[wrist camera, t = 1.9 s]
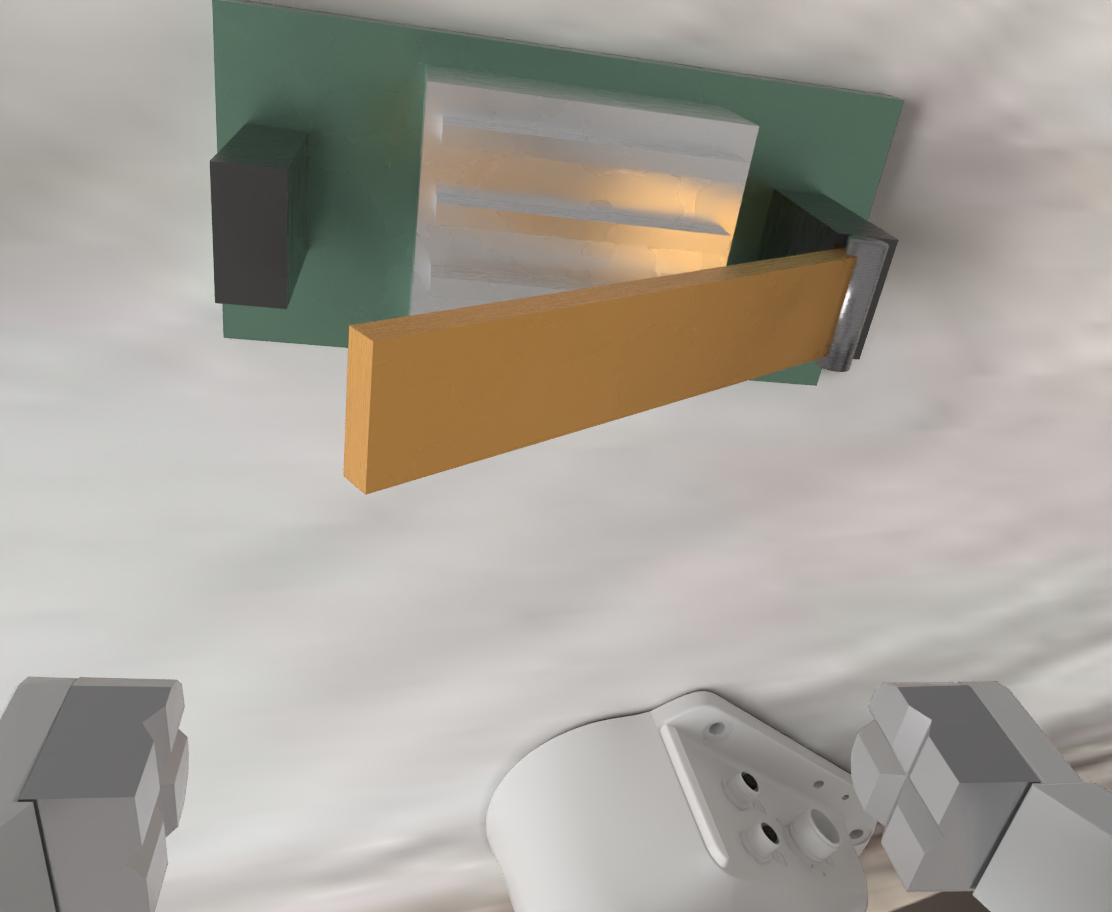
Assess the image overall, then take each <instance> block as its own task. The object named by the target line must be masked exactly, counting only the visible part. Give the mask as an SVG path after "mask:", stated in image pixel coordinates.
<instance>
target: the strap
mask: <svg viewBox="0 0 1112 912" xmlns="http://www.w3.org/2000/svg"><path fill="white" fill-rule="evenodd" d="M888 248H889V245H888V244H887V243H885V242H883V241H881V240H878V239H875V238H871V237H866V236H858V235H851V236H849V237H848V240H847V244H846V247H844V248H838V249H831V250H825V251H819V252H812V253H806V254H800V255H793V256H787V257H781V258H774V259H768V260H762V261H755V262H749V263H742V264H736V265H730V266H723V267H717V268H711V269H704V270H698V271H692V272H685V273H679V274H673V275H666V276H660V277H654V278H647V279H641V280H634V281H628V282H622V283H615V284H609V285H603V286H596V287H590V288H584V289H577V290H571V291H565V292H558V293H552V294H546V295H539V296H533V297H526V298H520V299H514V300H507V301H501V302H495V303H488V304H482V305H476V306H469V307H463V308H457V309H450V310H444V311H438V312H431V313H425V314H418V315H412V316H406V317H399V318H393V319H387V320H380V321H374V322H368V323H361V324H355V325H349V343H348V371H347V398H346V426H345V453H344V477H345V478H347V479H348V480H349V481H350V482H351V483H352V484H354V485H355V486H356V487H357V488H358V489H360V490H361V491H362V492H363V493H364V494H365V495H366V494H369V493H372V492H376V491H379V490H382V489H386V488H389V487H392V486H396V485H399V484H402V483H406V482H409V481H412V480H416V479H419V478H422V477H426V476H429V475H432V474H436V473H439V472H442V471H446V470H449V469H453V468H456V467H459V466H463V465H466V464H469V463H473V462H476V461H479V460H483V459H486V458H489V457H493V456H496V455H499V454H503V453H506V452H509V451H513V450H516V449H519V448H523V447H526V446H529V445H533V444H536V443H539V442H543V441H546V440H550V439H553V438H556V437H560V436H563V435H566V434H570V433H573V432H576V431H580V430H583V429H586V428H590V427H593V426H596V425H600V424H603V423H606V422H610V421H613V420H616V419H620V418H623V417H626V416H630V415H633V414H637V413H640V412H643V411H647V410H650V409H653V408H657V407H660V406H663V405H667V404H670V403H673V402H677V401H680V400H683V399H687V398H690V397H693V396H697V395H700V394H703V393H707V392H710V391H713V390H717V389H720V388H723V387H727V386H730V385H734V384H737V383H740V382H744V381H747V380H750V379H754V378H757V377H760V376H764V375H767V374H770V373H774V372H777V371H780V370H784V369H787V368H790V367H794V366H797V365H800V364H804V363H807V362H810V361H812V362H813V363H814V364H816V365H817V366H819V367H821V368H824V369H827V370H831V371H836V372H845V371H848V370H849V369H850V365H851V362H852V359H853V356H854V353H855V350H856V347H857V344H858V341H859V338H860V334H861V331H862V328H863V325H864V322H865V319H866V316H867V313H868V310H869V307H870V303H871V300H872V297H873V294H874V291H875V288H876V285H877V282H878V279H879V276H880V272H881V269H882V266H883V263H884V260H885V257H886V254H887V251H888Z"/></svg>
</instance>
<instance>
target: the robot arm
mask: <svg viewBox="0 0 1112 912" xmlns="http://www.w3.org/2000/svg"><path fill="white" fill-rule="evenodd" d="M184 707H185V705H184V697H183V689H182V684H181V683H180V682H179V681H178V680H164V679H128V678H91V677H80V678H51V677H27V678H26V679H25V680H24V681H23V682H21V683H20V684H19V685H18V686H17V687H16V688H15V690H14V692H13V693H12V695H11V697H10V699H9V701H8V703H7V704H6V706H5V708H4V710H3V712H2V714H1V716H0V912H155V908H156V905H157V901H158V898H159V894H160V890H161V887H162V883H163V880H164V876H165V872H166V869H167V865H168V859H167V849H166V839H165V838H166V837H167V836H168V835H169V834H170V833H171V832H172V831H174V830H175V829H176V828H177V827H178V825H179V821H180V817H181V813H182V809H183V805H184V800H185V793H186V786H187V779H188V762H189V751H188V738H187V736H186V735H185V734H184V733H182V732H181V731H180V730H179V729H178V728H179V724H180V721H181V718H182V714H183V711H184ZM868 707H869V709H870V711H871V713H872V715H873V717H874V720H873V721H872V722H870V723H869V724H868V725H867V726H865V727H864V728H863V729H862V730H861V731H859V732H858V733H857V736H856V739H855V742H854V745H853V748H852V751H851V774H849V773H847V772H845V771H844V770H842V769H840V768H839V767H837V766H835V765H834V764H832V763H830V762H829V761H827V760H825V759H824V758H822V757H820V756H819V755H817V754H815V753H814V752H812V751H810V750H808V749H807V748H805V747H803V746H802V745H800V744H798V743H797V742H795V741H793V740H792V739H790V738H788V737H787V736H785V735H783V734H782V733H780V732H778V731H777V730H775V729H773V728H771V727H770V726H768V725H766V724H765V723H763V722H761V721H760V720H758V719H756V718H755V717H753V716H751V715H750V714H748V713H746V712H745V711H743V710H741V709H740V708H738V707H736V706H734V705H733V704H731V703H729V702H728V701H726V700H724V699H723V698H721V697H719V696H718V695H716V694H714V693H711V692H707V691H698V692H693V693H690V694H687V695H684V696H682V697H679V698H677V699H674V700H672V701H670V702H668V703H666V704H664V705H662V706H660V707H658V708H656V709H654V710H652V711H649V712H646V713H642V714H638V715H633V716H627V717H620V718H614V719H608V720H603V721H599V722H595V723H591V724H588V725H585V726H581V727H578V728H576V729H573V730H570V731H568V732H566V733H563V734H561V735H559V736H557V737H555V738H553V739H551V740H549V741H547V742H546V743H544V744H542V745H541V746H539V747H538V748H536V749H535V750H533V751H532V752H530V753H529V754H528V755H526V756H525V757H524V758H523V759H522V760H520V761H519V762H518V763H517V764H516V765H515V766H514V767H513V768H512V769H511V770H510V771H509V772H508V774H507V775H506V776H505V777H504V779H503V780H502V781H501V783H500V784H499V786H498V787H497V789H496V791H495V793H494V795H493V797H492V799H491V801H490V804H489V808H488V812H487V817H486V833H487V838H488V842H489V845H490V848H491V850H492V852H493V854H494V856H495V858H496V860H497V863H498V865H499V867H500V870H501V872H502V875H503V878H504V881H505V883H506V886H507V889H508V892H509V895H510V899H511V902H512V905H513V909H514V912H866V910H867V906H868V887H867V881H866V877H865V874H864V871H863V868H862V865H861V863H860V860H859V858H858V857H859V855H860V854H861V853H862V851H863V850H864V848H865V847H866V845H867V844H868V842H869V840H870V838H871V836H872V834H873V832H874V830H875V827H876V825H877V822H880V823H881V824H882V825H884V831H883V835H882V839H881V844H882V846H883V848H884V849H885V851H886V853H887V855H888V857H889V859H890V861H891V863H892V865H893V867H894V869H895V871H896V872H897V874H898V876H899V878H900V880H901V882H902V884H903V886H904V888H905V890H906V892H928V891H974V893H973V896H974V897H976V898H977V899H978V900H979V901H980V902H981V903H982V904H983V905H984V906H985V907H986V908H988V909H989V910H990V911H991V912H1112V793H1111V792H1109V791H1107V790H1106V789H1104V788H1103V787H1101V786H1099V785H1098V784H1096V783H1083V781H1082V780H1081V779H1080V778H1079V776H1078V775H1077V774H1076V773H1075V771H1074V770H1073V769H1072V768H1071V766H1070V765H1069V764H1068V763H1067V761H1066V760H1065V759H1064V758H1063V756H1062V755H1061V754H1060V753H1059V751H1058V750H1057V749H1056V748H1055V746H1054V745H1053V744H1052V743H1051V741H1050V740H1049V739H1048V738H1047V736H1046V735H1045V734H1044V732H1043V731H1042V730H1041V729H1040V727H1039V726H1038V725H1037V724H1036V722H1035V721H1034V720H1033V719H1032V717H1031V716H1030V715H1029V714H1028V712H1027V711H1026V710H1025V709H1024V707H1023V706H1022V705H1021V704H1020V702H1019V701H1018V700H1017V699H1016V697H1015V696H1014V695H1013V694H1012V692H1011V691H1010V690H1009V689H1008V688H1007V687H1005V686H1003V685H1002V684H1000V683H999V682H997V681H988V682H958V683H954V682H893V683H882V684H881V685H880V686H879V687H878V688H877V689H876V690H875V691H874V693H873V696H872V698H871V701H870V703H869V705H868ZM714 723H715V724H714Z"/></svg>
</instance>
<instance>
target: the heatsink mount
mask: <svg viewBox="0 0 1112 912" xmlns="http://www.w3.org/2000/svg"><path fill="white" fill-rule="evenodd" d="M212 4H213V34H214V64H215V94H216V124H217V154H216V155H215V156H214V157H213V158H212V159H211V160H210V177H211V204H212V231H213V257H214V284H215V303H221V304H223V332H224V338H234V339H247V340H259V341H271V342H284V343H296V344H308V345H321V346H333V347H346V348H348V343H349V325H355V324H361V323H368V322H374V321H380V320H387V319H393V318H399V317H406V316H412V315H418V314H425V313H431V312H438V311H444V310H450V309H457V308H463V307H469V306H476V305H482V304H488V303H495V302H501V301H507V300H514V299H520V298H526V297H533V296H539V295H546V294H552V293H558V292H565V291H571V290H577V289H584V288H590V287H596V286H603V285H609V284H615V283H622V282H628V281H634V280H641V279H647V278H654V277H660V276H666V275H673V274H679V273H685V272H692V271H698V270H704V269H711V268H717V267H723V266H730V265H736V264H742V263H749V262H755V261H762V260H768V259H774V258H781V257H787V256H793V255H800V254H806V253H812V252H819V251H825V250H831V249H838V248H844V247H846V244H847V240H848V237H849V236H851V235H858V236H866V237H871V238H875V239H878V240H881V241H883V242H885V243H887V244H888V245H889V248H888V251H887V254H886V257H885V260H884V263H883V266H882V269H881V272H880V276H879V279H878V282H877V285H876V288H875V291H874V294H873V297H872V300H871V303H870V307H869V310H868V313H867V316H866V319H865V322H864V325H863V328H862V331H861V334H860V338H859V341H858V344H857V347H856V350H855V353H854V356H853V359H860V356H861V353H862V349H863V346H864V343H865V340H866V337H867V334H868V331H869V328H870V325H871V322H872V319H873V316H874V313H875V310H876V307H877V304H878V301H879V297H880V294H881V291H882V288H883V285H884V282H885V279H886V276H887V273H888V270H889V267H890V264H891V261H892V258H893V255H894V252H895V248H896V245H897V242H898V240H897V239H896V238H894V237H893V236H891V235H889V234H888V233H886V232H885V231H883V230H881V229H880V228H878V227H876V226H875V225H873V224H872V223H870V222H868V221H867V220H868V216H869V213H870V210H871V207H872V203H873V200H874V197H875V193H876V190H877V187H878V184H879V180H880V177H881V174H882V171H883V167H884V164H885V161H886V158H887V154H888V151H889V148H890V145H891V141H892V138H893V135H894V132H895V128H896V125H897V122H898V119H899V115H900V112H901V109H902V106H903V102H904V100H902V99H899V98H896V97H893V96H890V95H884V94H877V93H871V92H864V91H857V90H850V89H843V88H837V87H830V86H823V85H816V84H809V83H802V82H796V81H789V80H782V79H775V78H768V77H762V76H755V75H748V74H741V73H734V72H727V71H721V70H714V69H707V68H700V67H693V66H687V65H680V64H673V63H666V62H659V61H652V60H646V59H639V58H632V57H625V56H618V55H612V54H605V53H598V52H591V51H584V50H577V49H571V48H564V47H557V46H550V45H543V44H537V43H530V42H523V41H516V40H509V39H502V38H496V37H489V36H482V35H475V34H468V33H462V32H455V31H448V30H441V29H434V28H427V27H421V26H414V25H407V24H400V23H393V22H387V21H380V20H373V19H366V18H359V17H352V16H346V15H339V14H332V13H325V12H318V11H312V10H305V9H298V8H291V7H284V6H277V5H271V4H264V3H257V2H250V1H243V0H212ZM821 369H822V368H821V367H819V366H817V365H816V364H814V363H813V362H812V361H810V362H807V363H804V364H800V365H797V366H794V367H790V368H787V369H784V370H780V371H777V372H774V373H770V374H767V375H764V376H760V377H757V378H754V379H750V380H753V381H766V382H778V383H790V384H803V385H815V386H817V382H818V379H819V376H820V373H821Z"/></svg>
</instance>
